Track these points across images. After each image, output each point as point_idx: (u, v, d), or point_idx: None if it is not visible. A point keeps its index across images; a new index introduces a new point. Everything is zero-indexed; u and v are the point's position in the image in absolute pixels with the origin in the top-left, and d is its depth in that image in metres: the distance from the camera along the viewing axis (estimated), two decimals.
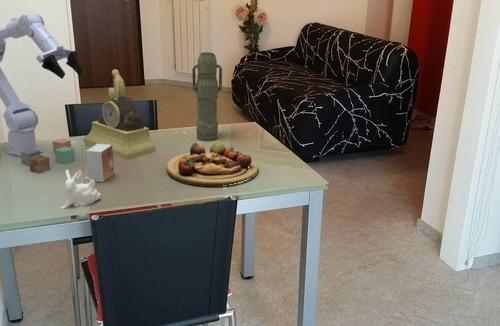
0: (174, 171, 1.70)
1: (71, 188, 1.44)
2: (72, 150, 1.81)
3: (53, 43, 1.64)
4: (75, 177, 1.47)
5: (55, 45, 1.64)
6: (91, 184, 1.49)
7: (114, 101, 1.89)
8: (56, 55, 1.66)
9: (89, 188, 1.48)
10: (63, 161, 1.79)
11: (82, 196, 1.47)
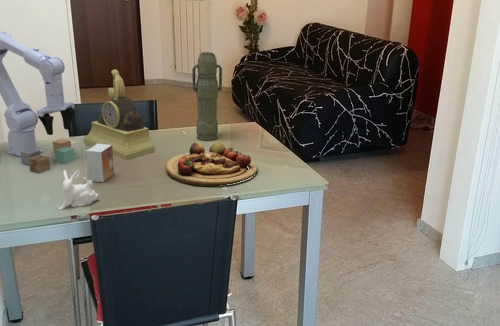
0: (173, 170, 1.70)
1: (69, 189, 1.44)
2: (72, 150, 1.81)
3: (59, 101, 1.73)
4: (73, 178, 1.46)
5: (60, 104, 1.74)
6: (89, 185, 1.48)
7: (114, 101, 1.89)
8: None
9: (87, 189, 1.47)
10: (63, 161, 1.79)
11: (80, 197, 1.46)
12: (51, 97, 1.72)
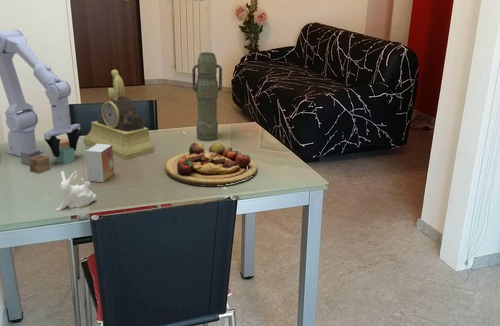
0: (173, 170, 1.70)
1: (66, 190, 1.43)
2: (72, 150, 1.81)
3: (66, 124, 1.75)
4: (70, 178, 1.46)
5: (66, 127, 1.76)
6: (86, 185, 1.47)
7: (113, 101, 1.88)
8: None
9: (84, 189, 1.47)
10: (63, 161, 1.79)
11: (77, 198, 1.46)
12: (58, 120, 1.74)
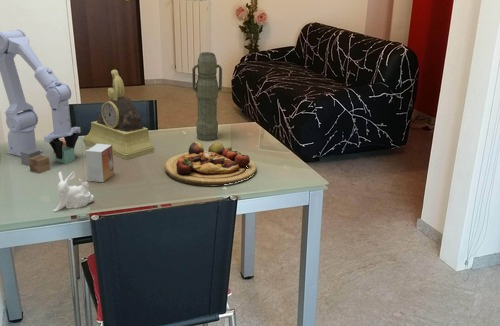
0: (172, 170, 1.70)
1: (64, 190, 1.43)
2: (72, 150, 1.81)
3: (66, 127, 1.75)
4: (68, 179, 1.45)
5: (66, 130, 1.76)
6: (84, 186, 1.47)
7: (113, 101, 1.88)
8: None
9: (82, 190, 1.46)
10: (63, 161, 1.79)
11: (75, 198, 1.45)
12: (58, 123, 1.74)
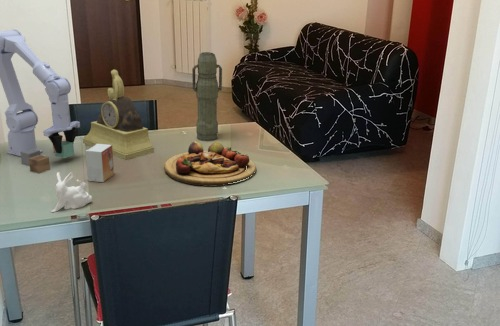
0: (172, 170, 1.70)
1: (62, 191, 1.42)
2: (71, 144, 1.80)
3: (65, 121, 1.75)
4: (66, 180, 1.45)
5: (66, 124, 1.75)
6: (82, 187, 1.46)
7: (113, 101, 1.88)
8: None
9: (80, 191, 1.46)
10: (62, 155, 1.78)
11: (73, 199, 1.44)
12: (57, 117, 1.73)
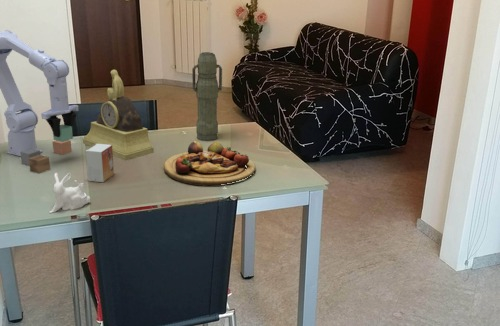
0: (171, 170, 1.70)
1: (60, 192, 1.42)
2: (70, 128, 1.78)
3: (64, 104, 1.73)
4: (64, 180, 1.44)
5: (64, 107, 1.73)
6: (80, 187, 1.46)
7: (113, 101, 1.88)
8: None
9: (78, 192, 1.45)
10: (61, 139, 1.76)
11: (71, 200, 1.44)
12: (55, 100, 1.71)
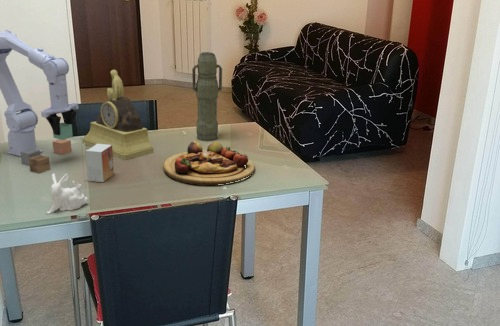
0: (170, 169, 1.71)
1: (57, 192, 1.41)
2: (70, 126, 1.78)
3: (63, 102, 1.72)
4: (61, 181, 1.44)
5: (64, 105, 1.73)
6: (78, 188, 1.45)
7: (112, 101, 1.88)
8: None
9: (76, 192, 1.45)
10: (61, 137, 1.76)
11: (68, 201, 1.43)
12: (55, 98, 1.71)
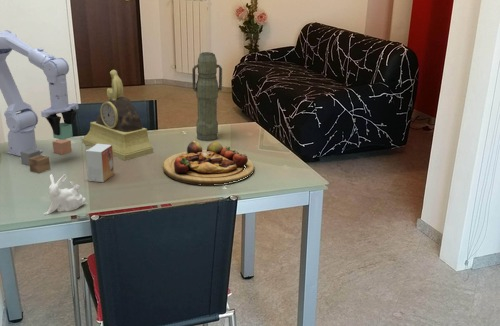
0: (170, 169, 1.71)
1: (55, 193, 1.41)
2: (70, 126, 1.78)
3: (63, 102, 1.72)
4: (59, 182, 1.43)
5: (64, 105, 1.73)
6: (76, 189, 1.45)
7: (112, 102, 1.88)
8: None
9: (74, 193, 1.44)
10: (61, 137, 1.76)
11: (66, 201, 1.43)
12: (55, 98, 1.71)
